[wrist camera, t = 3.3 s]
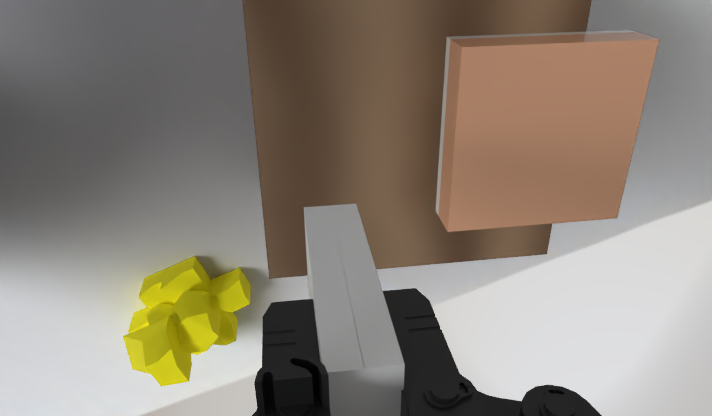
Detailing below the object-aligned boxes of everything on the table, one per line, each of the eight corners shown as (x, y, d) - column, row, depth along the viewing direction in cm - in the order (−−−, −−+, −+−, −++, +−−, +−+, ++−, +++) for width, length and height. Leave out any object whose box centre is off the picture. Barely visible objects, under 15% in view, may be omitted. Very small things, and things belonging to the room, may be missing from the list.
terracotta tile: (435, 210, 27) (447, 231, 25) (447, 36, 23) (462, 47, 21) (594, 198, 28) (616, 218, 26) (630, 29, 24) (659, 39, 22)
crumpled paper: (264, 305, 40) (265, 385, 33) (163, 349, 41) (143, 436, 34) (224, 242, 37) (216, 315, 31) (116, 289, 38) (84, 372, 31)
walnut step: (267, 188, 36) (269, 278, 27) (246, -55, 29) (238, -40, 21) (480, 173, 38) (547, 254, 29) (504, -59, 31) (599, -47, 22)
